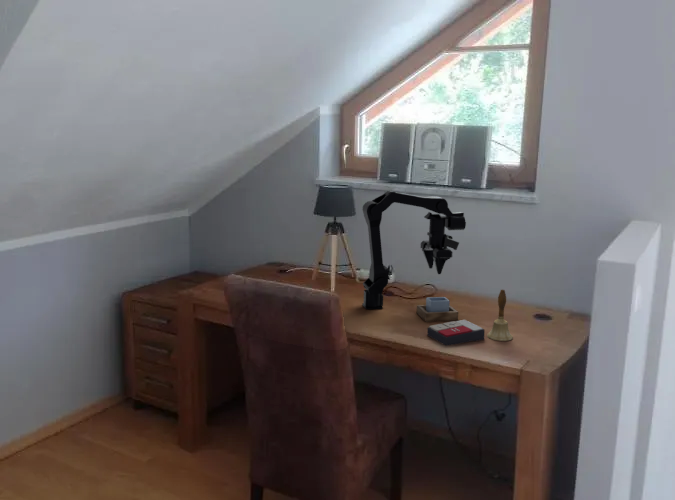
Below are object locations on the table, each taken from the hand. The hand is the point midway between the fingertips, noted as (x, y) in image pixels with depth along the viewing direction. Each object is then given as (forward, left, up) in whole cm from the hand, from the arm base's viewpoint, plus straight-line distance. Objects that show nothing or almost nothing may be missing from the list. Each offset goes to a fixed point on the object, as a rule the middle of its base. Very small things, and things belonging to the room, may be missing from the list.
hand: (434, 271), depth 251 cm
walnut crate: (-4, -15, -13) cm, 20 cm away
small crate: (-4, -15, -12) cm, 20 cm away
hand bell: (+9, -39, -13) cm, 42 cm away
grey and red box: (-6, -37, -14) cm, 40 cm away
